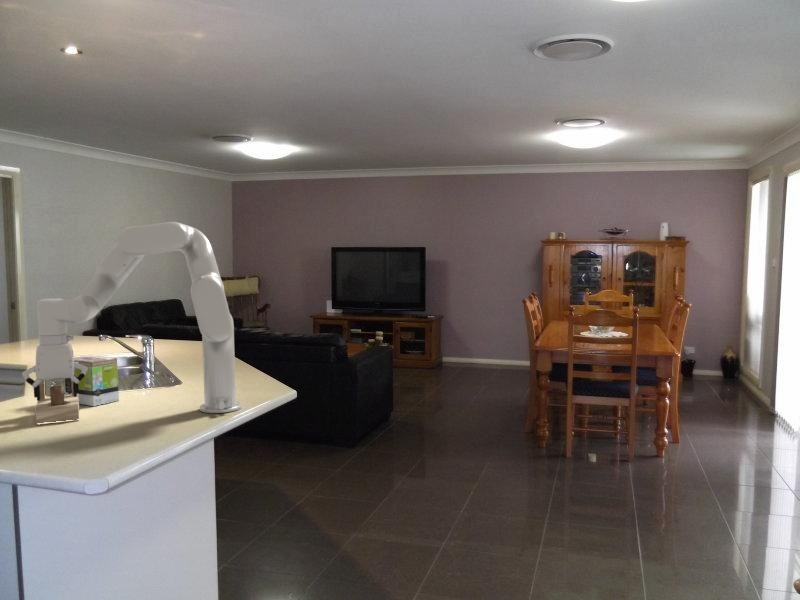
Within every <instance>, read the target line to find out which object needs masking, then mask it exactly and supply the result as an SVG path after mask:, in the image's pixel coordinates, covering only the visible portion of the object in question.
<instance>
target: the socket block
mask: <svg viewBox="0 0 800 600" xmlns="http://www.w3.org/2000/svg"><path fill="white" fill-rule="evenodd" d="M75 363H78V362H75ZM76 369H78V368H75V373H74V375H75V376H76ZM33 373H36V371H34V372H33ZM73 383H74V381H73V380H72V379H71V387H72V394H71V395H66V394H64V403H65V405H55V406H51V398H50V396H46V393H45V380H41V382H40V383H39V386H40V400H39V401H37V402H36V406H35V421H36V423H44V422H56V421H66V420H77V419H79V420H80V404H79V397H78V394H77V393H76V397H74V392H73Z"/></svg>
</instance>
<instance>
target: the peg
mask: <svg viewBox="0 0 800 600" xmlns="http://www.w3.org/2000/svg"><path fill="white" fill-rule="evenodd" d="M64 386H65V385H54V386H49V394H50V396H49V397H50V398H51V406H55V405H65V403H64V395H65V390H64V389H65V388H64Z"/></svg>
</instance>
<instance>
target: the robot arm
mask: <svg viewBox="0 0 800 600" xmlns="http://www.w3.org/2000/svg"><path fill="white" fill-rule="evenodd" d="M116 239H117V240H116V243H115V244H114V245H113V246H112V247H111V248H110V250H109V251H108V252H107V253H106V255H104V257H103V258H101V260H100V262H98V264H97V266H96V269H95V274H94V276H93V277H92V279H91V281H90V282H89V283H88V285H87V286H86V287H85V288H84V289H83V291H82V292H80V294H79V295H78V296H75V297H73V298H68V299H63V298H56V297H55V298H42V299H40V300H38V301H37V304H36V308H37V309H36V310H37V324H38V327H37V328H38V343H39V345H37V346H36V349H35V365H34V366H32V367H30V368H28V369H26V370H24V371H23V372H22V373H21V375H22V377H23V378H24V379H25V381H26V383H27V384H29V385H30V386H32V387H33V396H34V397H33V398H36V401H37V402H38V401H39V400H40V386H39V383H40V382H41V380H44V381H48V380H49V381H50V380H61V379H62V380H63V379H65V378H71V379H72V380H73V381H74V383H73V392H74V397H76V393H79V385H78V383H79V382H80V381H81V380H82V378H83V377H84V376H85V374H86V372H87V370H88V367H86V366H83V365H81V364H78V363H75V362H74V358H75V357H74V351H73V346H72V344H71V343H70V341H73V340H74V335H70V334H69V333H68V323H69V324H82V323H85V322H87V321H89V320H91V319H93V318H94V317H95V316H97V315H98V314H99V313H100V312H101V310H102V309H103V307H104V306H105V305H107V303H108V302H109V301H110V299H111V298H112V297H113V296H114V294H115V292H116V291H117V290H118V289H119V288H120V287H121V286H122V284H123V283H124V281H126V279H127V278H128V277H129V275H130V274H131V273H132V272H133V270H134V269H135V268H136V267H137V266H138V264H139V263H140V262H141V261H142V260H143V259H144V257H146V255H153V254H161V253H167V252H168V253H169V252H175V251H180V252H181V253H183V254H182V255H184V257H185V261H186V264H187V268H188V271H189V276H190V278H191V279H190V280H191V286H190V296H191V300H192V304H193V309H194V312H195V316H196V320H197V325H198V328H199V332H200V334H201V335H202V336H201V338H202V339H201V340H202V345H201V346H202V366H203V367H202V368H203V369H202V371H203V388H204V389H203V390H204V391H203V393H204V395H203V396H204V398H203V399H204V403H203V404H201V405H199V411H200V412H202V413H206V414H223V413H224V414H225V413H229V412H235V411H237V410H240V409H241V408H242V402H240V401H237V394H236V393H237V390H236V389H237V387H236V363H235V361H236V360H235V353H236V352H235V325H234V318H233V316H232V314H231V313H230V308H229V304H228V301H227V297H226V293H225V285H224V283H223V280H222V278H221V274H220V270H219V266H218V263H217V260H216V256H215V254H214V253H215V252H214V250H213V246H212V244H211V243H210V241H209V239H208V238H207V236H206V235H205V234H204V233H203V232H202V231H200V230H199V229H197V228H196V227H194V226H190V225H188V224H184V223H181V222H178V221H168V222H160V223H159V222H158V223H153V224H152V223H151V224H146V225H138V226H137V225H134V226H133V225H132V226H128V227H125V228H124V229H122V230H121V231H120V232H119V233H118V236H117V238H116ZM75 368H78V369H81V370H82V372H81V374H80V375H79V376H78V377H77V376H75V375H74V373H75ZM34 371H36V372H34ZM31 373H35V377H36V379H35V380H34V379H33V378H31V377H30V374H31Z"/></svg>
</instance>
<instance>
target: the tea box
mask: <svg viewBox="0 0 800 600" xmlns="http://www.w3.org/2000/svg"><path fill="white" fill-rule="evenodd" d="M74 362H78V364H81V365H83V366H86V367H88V370H87V372H86V374H85V376H84V377H83V378H82V380H81V381H80V382H79V383H78V385H79V393H77V394H78V397H79V405H83V406H91V407H97V405H98V406H101V404H103V405H107V404H110V402H111V403H115V402H114V401H116V402H118V401H119V400H120V397H119V396H120V395H119V393H120V392H119V373H118V371H119V369H118V358H117V357H113V356H111V357H110V356H99V355H84V356H78V357H76V356H75V357H74ZM81 372H82V370H81V369H76V376H77V377H78V376H79V375H80V374H81ZM64 386H65V388H64V389H65V390H64V391H65V395H71V394H72V387H71V378H64ZM106 403H107V404H106Z"/></svg>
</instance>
